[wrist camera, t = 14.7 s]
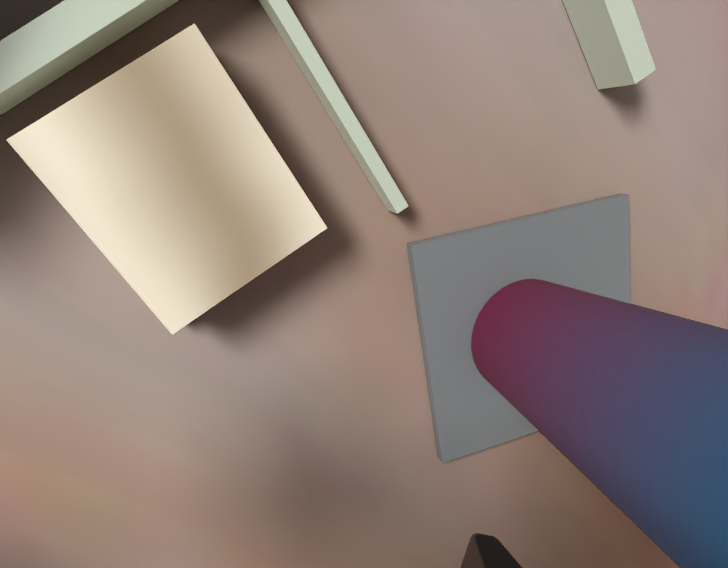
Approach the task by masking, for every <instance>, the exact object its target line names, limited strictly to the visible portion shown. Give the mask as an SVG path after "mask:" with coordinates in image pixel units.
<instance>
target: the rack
mask: <svg viewBox="0 0 728 568" xmlns="http://www.w3.org/2000/svg"><path fill="white" fill-rule="evenodd" d="M177 1H179V0H64V1H62V2H61V3H59V4H58V5H56V6H54V7H53V8H51V9H50V10H48V11H47V12H45V13H43V14H42V15H40V16H39V17H37V18H35V19H34V20H32V21H31V22H29V23H27V24H26V25H24V26H23V27H21V28H20V29H18V30H16V31H15V32H13V33H12V34H10V35H8V36H7V37H5V38H4V39H2V40H1V41H0V115H2V114H3V113H5V112H6V111H8V110H10V109H11V108H13V107H14V106H16V105H17V104H19V103H20V102H22V101H24V100H25V99H27V98H28V97H30V96H31V95H33V94H34V93H36V92H38V91H39V90H41V89H42V88H44V87H45V86H47V85H48V84H50V83H52V82H53V81H55V80H56V79H58V78H59V77H61V76H62V75H64V74H66V73H67V72H69V71H70V70H72V69H73V68H75V67H76V66H78V65H80V64H81V63H83V62H84V61H86V60H87V59H89V58H90V57H92V56H94V55H95V54H97V53H98V52H100V51H101V50H103V49H104V48H106V47H107V46H109V45H111V44H112V43H114V42H115V41H117V40H118V39H120V38H121V37H123V36H125V35H126V34H128V33H129V32H131V31H132V30H134V29H135V28H137V27H139V26H140V25H142V24H143V23H145V22H146V21H148V20H149V19H151V18H153V17H154V16H156V15H157V14H159V13H160V12H162V11H163V10H165V9H167V8H168V7H170V6H171V5H173V4H174V3H176V2H177ZM562 1H563V3H564V6H565V8H566V11H567V13H568V16H569V18H570V21H571V23H572V26H573V28H574V31H575V33H576V36H577V38H578V41H579V43H580V46H581V48H582V51H583V53H584V56H585V58H586V61H587V63H588V66H589V68H590V71H591V73H592V76H593V78H594V81H595V83H596V86H597V88H598V90H599V89H605V88H612V87H619V86H626V85H633V84H636V83H637V82H639V81H640V80H642V79H643V78H644V77H646V76H647V75H649V74H650V73H651V72H653V71H654V70H656V68H655V66H654V63H653V60H652V57H651V54H650V51H649V48H648V46H647V43H646V40H645V37H644V34H643V31H642V28H641V26H640V23H639V20H638V17H637V14H636V11H635V8H634V5H633V3H632V0H562ZM259 2H260V4H261V5H262V7H263V9H264V10H265V12H266V13H267V15H268V17H269V18H270V20H271V22H272V23H273V25H274V26H275V28H276V30H277V31H278V33H279V35H280V36H281V38H282V39H283V41H284V43H285V44H286V46H287V48H288V49H289V51H290V53H291V54H292V56H293V57H294V59H295V61H296V62H297V64H298V66H299V67H300V69H301V70H302V72H303V74H304V75H305V77H306V79H307V80H308V82H309V83H310V85H311V87H312V88H313V90H314V92H315V93H316V95H317V96H318V98H319V100H320V101H321V103H322V105H323V106H324V108H325V110H326V111H327V113H328V114H329V116H330V118H331V119H332V121H333V123H334V124H335V126H336V127H337V129H338V131H339V132H340V134H341V136H342V137H343V139H344V140H345V142H346V144H347V145H348V147H349V149H350V150H351V152H352V154H353V155H354V157H355V158H356V160H357V162H358V163H359V165H360V167H361V168H362V170H363V171H364V173H365V175H366V176H367V178H368V180H369V181H370V183H371V184H372V186H373V188H374V189H375V191H376V193H377V194H378V196H379V197H380V199H381V201H382V202H383V204H384V206H385V207H386V209H387V210H388V211H391V212H394V213H397V214H398V213H399V212H401V211H402V210H404V209H405V208H406V207H408V204H407V202H406V201H405V199H404V197H403V196H402V194H401V192H400V191H399V189H398V187H397V186H396V184H395V182H394V180H393V179H392V177H391V175H390V174H389V172H388V170H387V169H386V167H385V165H384V164H383V162H382V160H381V159H380V157H379V155H378V154H377V152H376V150H375V148H374V147H373V145H372V143H371V142H370V140H369V138H368V137H367V135H366V133H365V132H364V130H363V128H362V127H361V125H360V123H359V122H358V120H357V118H356V116H355V115H354V113H353V111H352V110H351V108H350V106H349V105H348V103H347V101H346V100H345V98H344V96H343V95H342V93H341V91H340V90H339V88H338V86H337V85H336V83H335V81H334V79H333V78H332V76H331V74H330V73H329V71H328V69H327V68H326V66H325V64H324V63H323V61H322V59H321V58H320V56H319V54H318V53H317V51H316V49H315V47H314V46H313V44H312V42H311V41H310V39H309V37H308V36H307V34H306V32H305V31H304V29H303V27H302V26H301V24H300V22H299V21H298V19H297V17H296V15H295V14H294V12H293V10H292V9H291V7H290V5H289V4H288V2H287V0H259Z"/></svg>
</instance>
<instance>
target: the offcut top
mask: <svg viewBox="0 0 728 568" xmlns="http://www.w3.org/2000/svg"><path fill="white" fill-rule="evenodd" d="M7 141H8V143H9V144H10V145H11V146H12V147H13V148H14V150H15V151H16V152H17V153H18V154H19V155H20V157H21V158H22V159H23V160H24V161H25V162H26V164H27V165H28V166H29V167H30V168H31V170H32V171H33V172H34V173H35V174H36V175H37V177H38V178H39V179H40V180H41V181H42V182H43V184H44V185H45V186H46V187H47V188H48V189H49V191H50V192H51V193H52V194H53V195H54V196H55V198H56V199H57V200H58V201H59V202H60V204H61V205H62V206H63V207H64V208H65V209H66V211H67V212H68V213H69V214H70V215H71V216H72V218H73V219H74V220H75V221H76V222H77V223H78V225H79V226H80V227H81V228H82V229H83V230H84V232H85V233H86V234H87V235H88V236H89V237H90V239H91V240H92V241H93V242H94V243H95V245H96V246H97V247H98V248H99V249H100V250H101V252H102V253H103V254H104V255H105V256H106V257H107V259H108V260H109V261H110V262H111V263H112V264H113V266H114V267H115V268H116V269H117V270H118V271H119V273H120V274H121V275H122V276H123V277H124V279H125V280H126V281H127V282H128V283H129V284H130V286H131V287H132V288H133V289H134V290H135V291H136V293H137V294H138V295H139V296H140V297H141V298H142V300H143V301H144V302H145V303H146V304H147V305H148V307H149V308H150V309H151V310H152V311H153V313H154V314H155V315H156V316H157V317H158V318H159V320H160V321H161V322H162V323H163V324H164V325H165V327H166V328H167V329H168V330H169V331H170V332H171V334H174V333H175V332H177V331H178V330H180V329H181V328H183V327H184V326H186V325H187V324H188V323H190V322H191V321H193V320H194V319H196V318H197V317H199V316H200V315H202V314H203V313H205V312H206V311H207V310H209V309H210V308H212V307H213V306H215V305H216V304H218V303H219V302H221V301H222V300H223V299H225V298H226V297H228V296H229V295H231V294H232V293H234V292H235V291H237V290H238V289H240V288H241V287H242V286H244V285H245V284H247V283H248V282H250V281H251V280H253V279H254V278H256V277H257V276H258V275H260V274H261V273H263V272H264V271H266V270H267V269H269V268H270V267H272V266H273V265H274V264H276V263H277V262H279V261H280V260H282V259H283V258H285V257H286V256H288V255H289V254H291V253H292V252H293V251H295V250H296V249H298V248H299V247H301V246H302V245H304V244H305V243H307V242H308V241H309V240H311V239H312V238H314V237H315V236H317V235H318V234H320V233H321V232H323V231H324V230H326V229H327V227H326V225H325V223H324V222H323V220H322V219H321V217H320V216H319V214H318V213H317V211H316V210H315V208H314V207H313V205H312V203H311V202H310V200H309V199H308V197H307V196H306V194H305V193H304V191H303V190H302V188H301V187H300V185H299V183H298V182H297V180H296V179H295V177H294V176H293V174H292V173H291V171H290V170H289V168H288V167H287V165H286V163H285V162H284V160H283V159H282V157H281V156H280V154H279V153H278V151H277V150H276V148H275V146H274V145H273V143H272V142H271V140H270V139H269V137H268V136H267V134H266V133H265V131H264V130H263V128H262V126H261V125H260V123H259V122H258V120H257V119H256V117H255V116H254V114H253V113H252V111H251V110H250V108H249V106H248V105H247V103H246V102H245V100H244V99H243V97H242V96H241V94H240V93H239V91H238V90H237V88H236V86H235V85H234V83H233V82H232V80H231V79H230V77H229V76H228V74H227V73H226V71H225V70H224V68H223V66H222V65H221V63H220V62H219V60H218V59H217V57H216V56H215V54H214V53H213V51H212V49H211V48H210V46H209V45H208V43H207V42H206V40H205V39H204V37H203V36H202V34H201V33H200V31H199V29H198V28H197V26H196V25H195V23H194V24H193V25H191V26H189V27H188V28H186V29H184V30H183V31H181V32H180V33H178V34H176V35H175V36H173V37H172V38H170V39H168V40H167V41H165V42H163V43H162V44H160V45H159V46H157V47H155V48H154V49H152V50H151V51H149V52H147V53H146V54H144V55H142V56H141V57H139V58H138V59H136V60H134V61H133V62H131V63H130V64H128V65H126V66H125V67H123V68H121V69H120V70H118V71H117V72H115V73H113V74H112V75H110V76H108V77H107V78H105V79H104V80H102V81H100V82H99V83H97V84H96V85H94V86H92V87H91V88H89V89H87V90H86V91H84V92H83V93H81V94H79V95H78V96H76V97H75V98H73V99H71V100H70V101H68V102H66V103H65V104H63V105H62V106H60V107H58V108H57V109H55V110H54V111H52V112H50V113H49V114H47V115H45V116H44V117H42V118H41V119H39V120H37V121H36V122H34V123H32V124H31V125H29V126H28V127H26V128H24V129H23V130H21V131H20V132H18V133H16V134H15V135H13V136H11V137H10V138H8V139H7Z"/></svg>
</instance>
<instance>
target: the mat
mask: <svg viewBox="0 0 728 568" xmlns="http://www.w3.org/2000/svg"><path fill="white" fill-rule="evenodd" d="M407 247H408V254H409V261H410V268H411V275H412V281H413V288H414V295H415V302H416V309H417V316H418V323H419V329H420V336H421V343H422V350H423V357H424V364H425V371H426V377H427V384H428V391H429V398H430V405H431V412H432V419H433V425H434V432H435V439H436V446H437V453H438V458H439V459H440V460H441V462H442V463H445V462H448V461H451V460H454V459H457V458H460V457H463V456H466V455H469V454H472V453H475V452H478V451H481V450H484V449H487V448H490V447H493V446H496V445H499V444H502V443H505V442H507V441H510V440H513V439H516V438H519V437H522V436H525V435H528V434H531V433H534V432H537V431H538V430H537V429H536V428H535V427H534V426H533V425H532V424H531V423H530V422H529V421H528V420H527V419H526V418H525V417H524V416H523V415H522V414H521V413H520V412H519V411H518V410H517V409H516V408H515V407H514V406H513V405H512V404H510V403H509V402H508V401H507V400H506V399H505V398H504V397H503V396H502V395H501V394H500V393H499V392H498V391H497V390H496V389H495V388H494V387H493V386H492V385H491V384H490V383H489V382H488V381H487V380H486V379H485V378H484V377H483V376H482V375H481V374H480V372H479V371H478V369H477V368H476V365H475V363H474V360H473V356H472V350H471V336H472V332H473V327H474V324H475V322H476V319H477V317H478V314H479V313H480V311H481V309H482V308H483V306H484V305H485V303H486V302H487V301H488V300H489V299H490V298H491V297H492V296H493V295H494V294H495V293H496V292H498V291H499V290H500V289H501V288H503V287H505V286H507V285H509V284H510V283H513V282H516V281H519V280H524V279H539V280H544V281H548V282H552V283H555V284H559V285H563V286H567V287H570V288H574V289H578V290H581V291H585V292H589V293H593V294H596V295H600V296H604V297H608V298H611V299H615V300H619V301H622V302H626V303H630V304H631V288H630V214H629V195H628V194H617V195H613V196H608V197H604V198H600V199H596V200H591V201H587V202H583V203H578V204H574V205H570V206H566V207H561V208H557V209H553V210H549V211H544V212H540V213H536V214H531V215H527V216H523V217H519V218H514V219H510V220H506V221H501V222H497V223H493V224H489V225H484V226H480V227H476V228H472V229H467V230H463V231H459V232H454V233H450V234H446V235H442V236H437V237H433V238H429V239H424V240H420V241H416V242H412V243H407Z"/></svg>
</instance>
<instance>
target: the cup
mask: <svg viewBox="0 0 728 568" xmlns="http://www.w3.org/2000/svg"><path fill="white" fill-rule="evenodd" d="M471 350H472V356H473V360H474V363H475V365H476V368H477V369H478V371H479V372H480V374H481V375H482V376H483V377H484V378H485V379H486V380H487V381H488V382H489V383H490V384H491V385H492V386H493V387H494V388H495V389H496V390H497V391H498V392H499V393H500V394H501V395H502V396H503V397H504V398H505V399H506V400H507V401H508V402H509V403H510V404H512V405H513V406H514V407H515V408H516V409H517V410H518V411H519V412H520V413H521V414H522V415H523V416H524V417H525V418H526V419H527V420H528V421H529V422H530V423H531V424H532V425H533V426H534V427H535V428H536V429H537V430H538V431H539V432H540V433H542V434H543V435H544V436H545V437H546V438H547V439H548V440H549V441H550V442H551V443H552V444H553V445H554V446H555V447H556V448H557V449H558V450H559V451H560V452H561V453H562V454H563V455H564V456H565V457H566V458H567V459H568V460H569V461H570V462H572V463H573V464H574V465H575V466H576V467H577V468H578V469H579V470H580V471H581V472H582V473H583V474H584V475H585V476H586V477H587V478H588V479H589V480H590V481H591V482H592V483H593V484H594V485H595V486H596V487H597V488H598V489H599V490H600V491H601V492H603V493H604V494H605V495H606V496H607V497H608V498H609V499H610V500H611V501H612V502H613V503H614V504H615V505H616V506H617V507H618V508H619V509H620V510H621V511H622V512H623V513H624V514H625V515H626V516H627V517H628V518H629V519H630V520H631V521H633V522H634V523H635V524H636V525H637V526H638V527H639V528H640V529H641V530H642V531H643V532H644V533H645V534H646V535H647V536H648V537H649V538H650V539H651V540H652V541H653V542H654V543H655V544H656V545H657V546H658V547H659V548H660V549H661V550H663V551H664V552H665V553H666V554H667V555H668V556H669V557H670V558H671V559H672V560H673V561H674V562H675V563H676V564H677V565H678V566H679V567H680V568H728V330H727V329H723V328H720V327H716V326H712V325H708V324H705V323H701V322H697V321H693V320H690V319H686V318H682V317H678V316H675V315H671V314H667V313H664V312H660V311H656V310H652V309H649V308H645V307H641V306H637V305H634V304H630V303H626V302H622V301H619V300H615V299H611V298H608V297H604V296H600V295H596V294H593V293H589V292H585V291H581V290H578V289H574V288H570V287H567V286H563V285H559V284H555V283H552V282H548V281H544V280H539V279H524V280H519V281H516V282H513V283H510V284H509V285H507V286H505V287H503V288H501V289H500V290H499V291H498V292H496V293H495V294H494V295H493V296H492V297H491V298H490V299H489V300H488V301H487V302H486V303H485V305H484V306H483V308H482V309H481V311H480V313H479V314H478V317H477V319H476V322H475V324H474V327H473V332H472V336H471Z"/></svg>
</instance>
